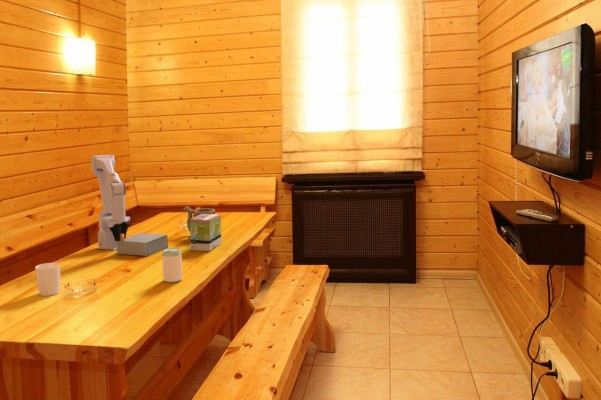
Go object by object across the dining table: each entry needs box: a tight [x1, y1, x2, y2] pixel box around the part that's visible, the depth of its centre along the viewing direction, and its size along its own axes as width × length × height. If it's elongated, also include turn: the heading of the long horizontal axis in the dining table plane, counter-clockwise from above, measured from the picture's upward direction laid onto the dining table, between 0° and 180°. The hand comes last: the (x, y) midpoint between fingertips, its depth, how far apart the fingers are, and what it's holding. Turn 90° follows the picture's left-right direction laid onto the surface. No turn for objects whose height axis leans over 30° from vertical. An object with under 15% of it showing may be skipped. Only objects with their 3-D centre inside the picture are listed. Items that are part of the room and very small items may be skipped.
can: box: [161, 247, 183, 284], centre depth 210 cm, size 7×7×12 cm
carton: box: [124, 232, 169, 257], centre depth 257 cm, size 15×16×6 cm
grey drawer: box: [116, 233, 148, 257], centre depth 248 cm, size 15×3×9 cm, turn 72°
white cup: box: [34, 262, 61, 297], centre depth 197 cm, size 8×8×10 cm
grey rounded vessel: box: [182, 206, 216, 232], centre depth 283 cm, size 20×13×15 cm, turn 58°
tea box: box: [189, 213, 222, 252], centre depth 261 cm, size 15×10×15 cm
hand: (120, 239), depth 249 cm, fingers open, 4 cm apart
